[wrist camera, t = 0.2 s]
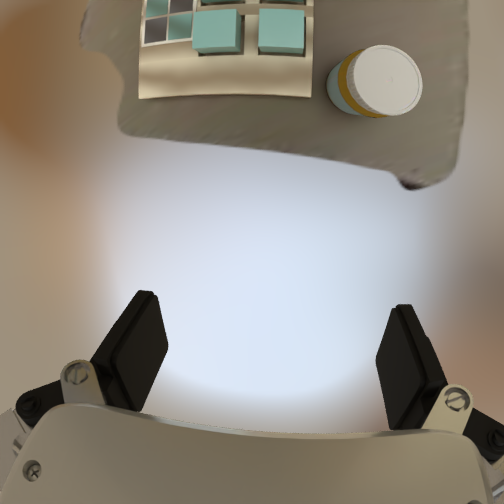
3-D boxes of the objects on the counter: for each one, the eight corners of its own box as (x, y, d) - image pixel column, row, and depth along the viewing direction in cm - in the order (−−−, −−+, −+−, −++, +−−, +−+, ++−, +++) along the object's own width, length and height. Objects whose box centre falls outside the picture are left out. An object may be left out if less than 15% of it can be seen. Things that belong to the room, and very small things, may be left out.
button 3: (202, 19, 27) (193, 12, 24) (241, 17, 27) (236, 8, 24) (201, 53, 30) (192, 48, 27) (240, 51, 29) (235, 46, 26)
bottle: (324, 110, 35) (346, 113, 21) (326, 59, 31) (348, 32, 18) (377, 117, 34) (424, 127, 21) (379, 67, 31) (427, 50, 18)
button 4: (262, 17, 27) (259, 8, 24) (302, 18, 26) (304, 10, 23) (261, 51, 29) (258, 46, 26) (302, 53, 29) (303, 48, 25)
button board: (157, -36, 26) (146, -45, 22) (310, -45, 24) (312, -58, 20) (150, 98, 36) (137, 98, 33) (309, 97, 34) (311, 96, 31)
